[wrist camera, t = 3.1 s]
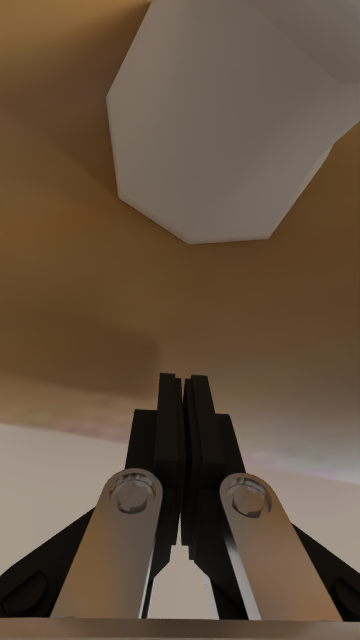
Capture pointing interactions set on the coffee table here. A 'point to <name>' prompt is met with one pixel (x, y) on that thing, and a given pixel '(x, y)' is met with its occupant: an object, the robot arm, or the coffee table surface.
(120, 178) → the flask
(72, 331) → the coffee table surface
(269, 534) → the robot arm
